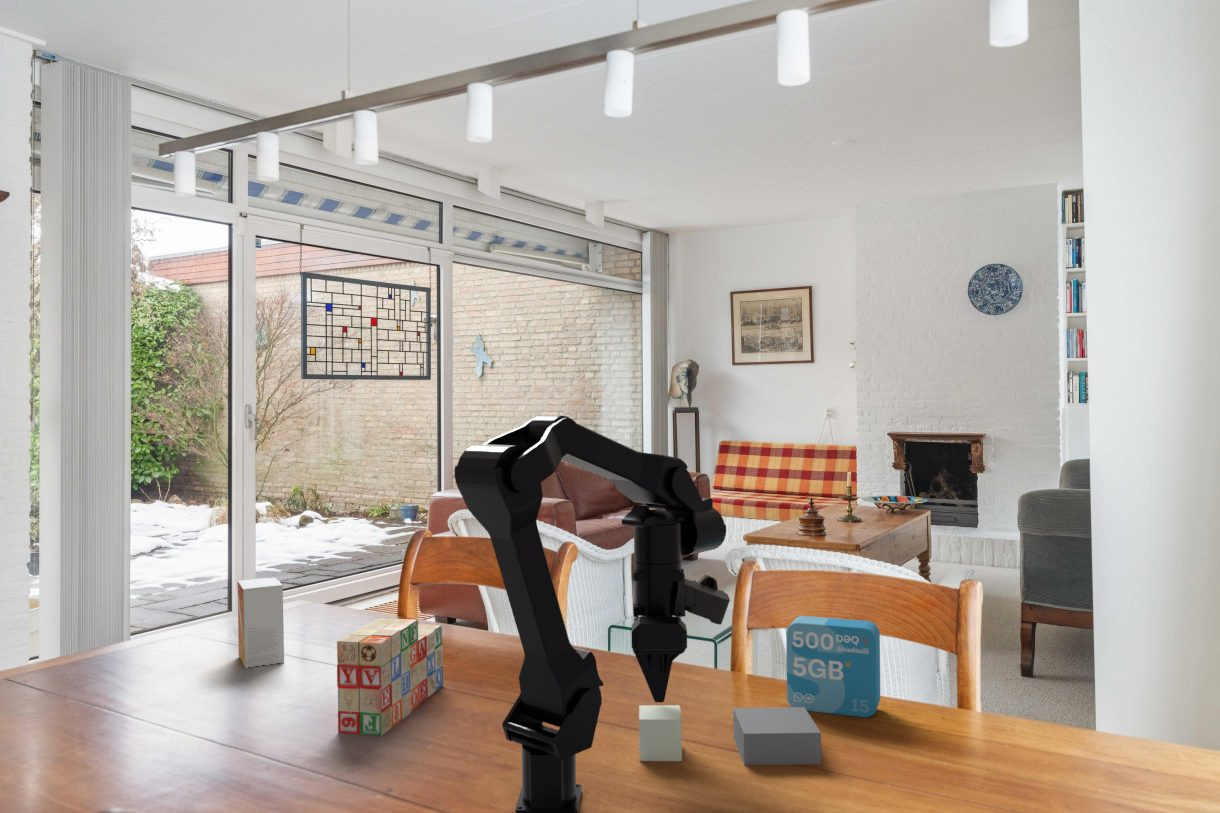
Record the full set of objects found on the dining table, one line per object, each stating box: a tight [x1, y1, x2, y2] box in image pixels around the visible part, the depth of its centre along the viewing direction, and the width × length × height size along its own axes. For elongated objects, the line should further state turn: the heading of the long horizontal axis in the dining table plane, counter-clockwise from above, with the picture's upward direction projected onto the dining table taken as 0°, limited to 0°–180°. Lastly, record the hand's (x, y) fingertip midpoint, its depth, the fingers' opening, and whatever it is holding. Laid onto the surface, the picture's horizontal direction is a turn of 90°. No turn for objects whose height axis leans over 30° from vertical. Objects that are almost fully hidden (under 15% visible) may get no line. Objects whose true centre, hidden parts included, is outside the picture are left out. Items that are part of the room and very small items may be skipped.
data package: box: [785, 615, 881, 718], centre depth 127 cm, size 12×4×12 cm, turn 68°
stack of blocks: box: [336, 617, 444, 736], centre depth 129 cm, size 21×6×12 cm, turn 169°
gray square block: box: [732, 706, 822, 766], centre depth 112 cm, size 9×9×4 cm
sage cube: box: [638, 704, 683, 762], centre depth 112 cm, size 5×5×5 cm
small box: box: [237, 577, 285, 669], centre depth 154 cm, size 8×6×13 cm
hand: (658, 689), depth 112 cm, fingers open, 9 cm apart
